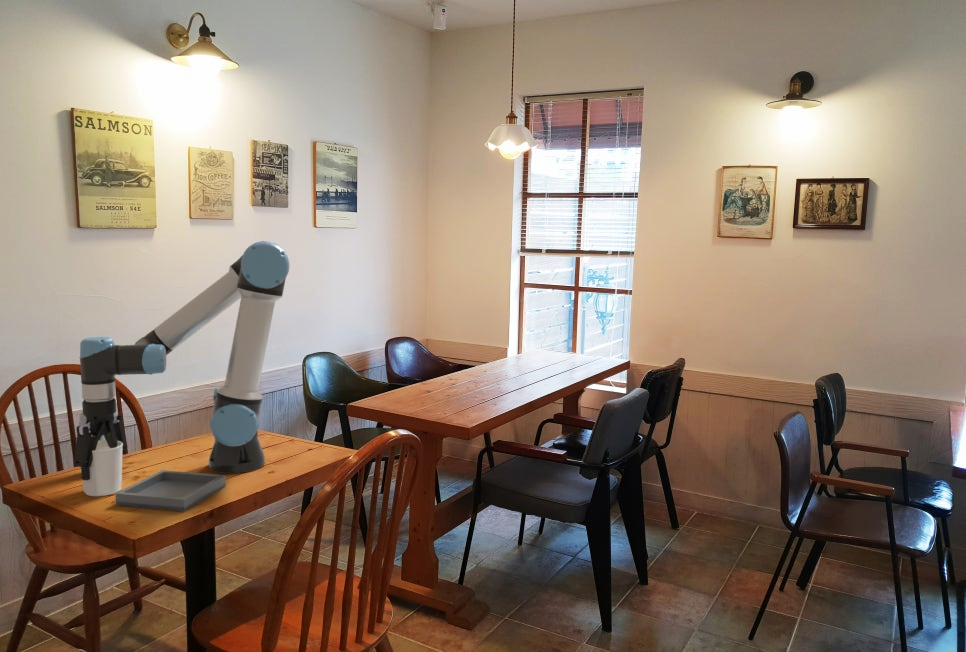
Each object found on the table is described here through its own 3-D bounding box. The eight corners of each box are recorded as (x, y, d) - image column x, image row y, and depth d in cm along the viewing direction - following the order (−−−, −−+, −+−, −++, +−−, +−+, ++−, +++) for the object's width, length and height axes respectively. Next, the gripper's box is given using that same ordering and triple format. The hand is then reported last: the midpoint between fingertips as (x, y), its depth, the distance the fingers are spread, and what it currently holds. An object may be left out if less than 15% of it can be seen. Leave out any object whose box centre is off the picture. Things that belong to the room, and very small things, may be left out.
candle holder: (133, 486, 190) (131, 441, 189) (106, 499, 180) (104, 452, 179) (100, 483, 192) (98, 438, 191) (72, 495, 182) (69, 449, 181)
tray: (162, 481, 194) (162, 470, 194) (225, 486, 191) (225, 475, 191) (115, 505, 176) (115, 493, 176) (184, 511, 173) (184, 499, 173)
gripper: (115, 389, 195) (118, 470, 197) (52, 407, 173) (57, 498, 176) (140, 390, 193) (143, 473, 196) (80, 409, 172) (85, 501, 175)
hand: (102, 485), depth 186 cm, fingers closed on candle holder, 9 cm apart
